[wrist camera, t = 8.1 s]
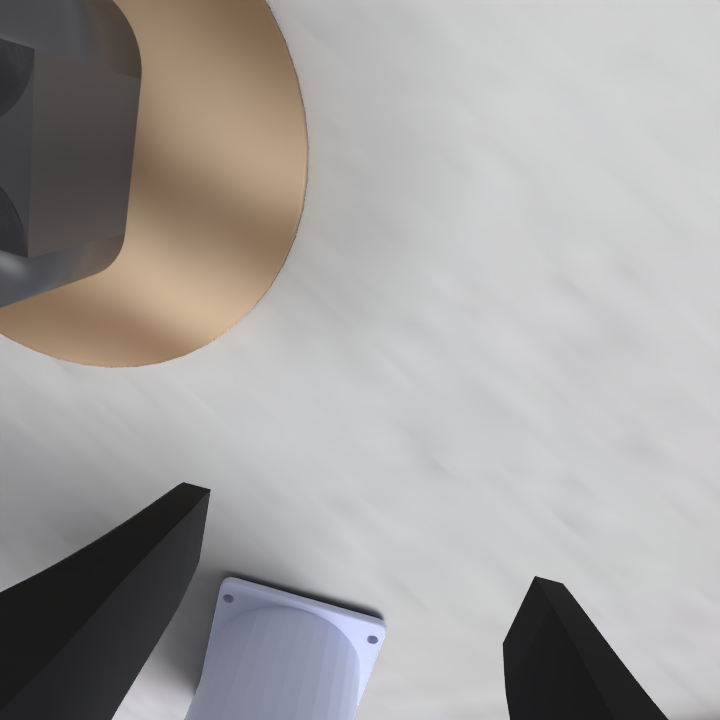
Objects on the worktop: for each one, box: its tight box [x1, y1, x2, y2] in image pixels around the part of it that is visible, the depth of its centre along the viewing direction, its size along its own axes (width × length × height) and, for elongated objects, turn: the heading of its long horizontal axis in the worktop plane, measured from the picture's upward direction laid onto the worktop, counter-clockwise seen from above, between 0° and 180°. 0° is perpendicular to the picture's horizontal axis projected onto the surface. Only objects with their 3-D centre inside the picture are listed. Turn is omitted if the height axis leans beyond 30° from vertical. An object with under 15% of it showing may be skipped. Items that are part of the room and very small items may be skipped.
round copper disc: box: [0, 0, 308, 368], centre depth 18 cm, size 16×16×1 cm
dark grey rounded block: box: [0, 0, 142, 308], centre depth 15 cm, size 12×4×5 cm, turn 164°
